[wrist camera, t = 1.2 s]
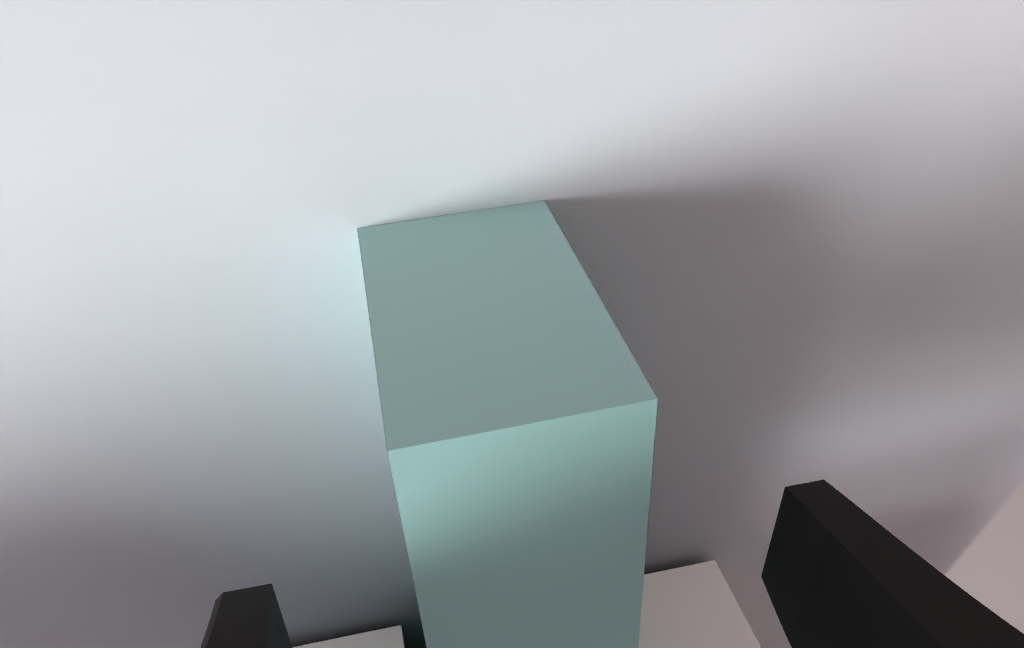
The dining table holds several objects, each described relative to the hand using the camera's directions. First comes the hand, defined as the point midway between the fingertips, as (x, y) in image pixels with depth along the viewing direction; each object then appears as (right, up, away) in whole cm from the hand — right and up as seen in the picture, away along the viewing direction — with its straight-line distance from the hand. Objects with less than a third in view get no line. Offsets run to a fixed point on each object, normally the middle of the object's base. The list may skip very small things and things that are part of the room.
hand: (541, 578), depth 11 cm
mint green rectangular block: (-1, -1, +6) cm, 6 cm away
